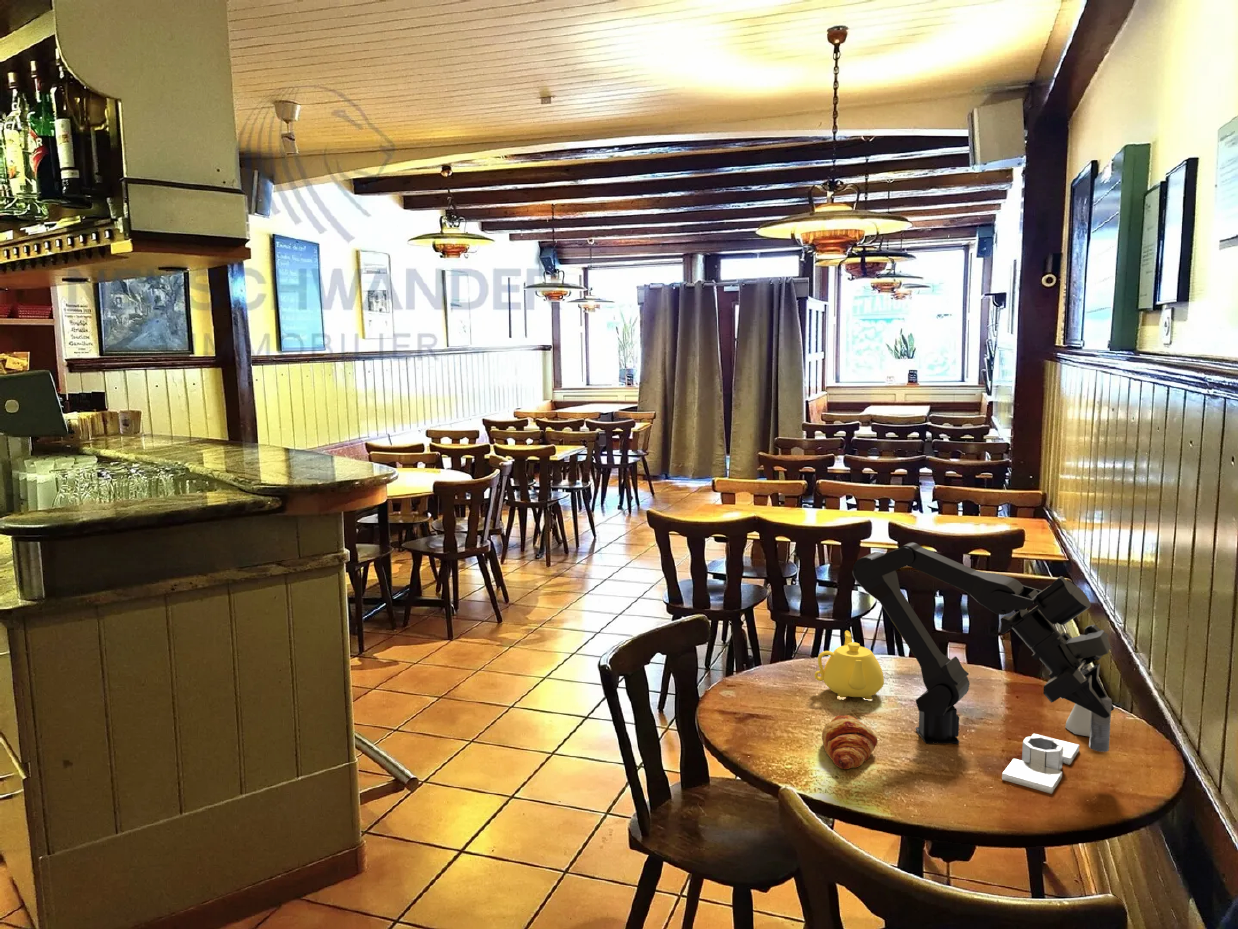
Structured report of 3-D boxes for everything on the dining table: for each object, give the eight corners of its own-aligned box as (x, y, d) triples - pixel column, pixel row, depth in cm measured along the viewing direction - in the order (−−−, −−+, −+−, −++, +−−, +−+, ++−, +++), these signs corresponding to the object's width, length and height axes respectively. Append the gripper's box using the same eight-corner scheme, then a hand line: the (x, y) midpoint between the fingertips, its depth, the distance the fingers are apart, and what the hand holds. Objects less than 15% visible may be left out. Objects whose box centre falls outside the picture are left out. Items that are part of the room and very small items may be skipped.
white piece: (1002, 779, 151) (1002, 758, 150) (1033, 739, 166) (1034, 719, 166) (1051, 793, 146) (1052, 771, 145) (1079, 750, 161) (1080, 730, 161)
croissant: (835, 743, 174) (817, 707, 174) (881, 725, 171) (862, 689, 171) (830, 792, 154) (809, 751, 154) (882, 772, 151) (861, 731, 151)
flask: (1111, 739, 166) (1114, 690, 164) (1070, 737, 167) (1073, 687, 166) (1098, 724, 173) (1101, 676, 171) (1059, 721, 174) (1062, 674, 173)
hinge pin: (1094, 752, 148) (1097, 702, 147) (1085, 744, 151) (1088, 695, 150) (1112, 752, 148) (1115, 702, 147) (1103, 744, 151) (1105, 695, 150)
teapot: (810, 676, 201) (811, 628, 199) (875, 678, 199) (877, 630, 197) (818, 710, 181) (819, 658, 180) (891, 713, 179) (892, 660, 178)
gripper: (1067, 627, 142) (1140, 707, 136) (1092, 601, 156) (1159, 673, 151) (1015, 663, 148) (1083, 741, 142) (1043, 635, 162) (1106, 705, 157)
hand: (1110, 713), depth 148 cm, fingers closed on hinge pin, 3 cm apart
